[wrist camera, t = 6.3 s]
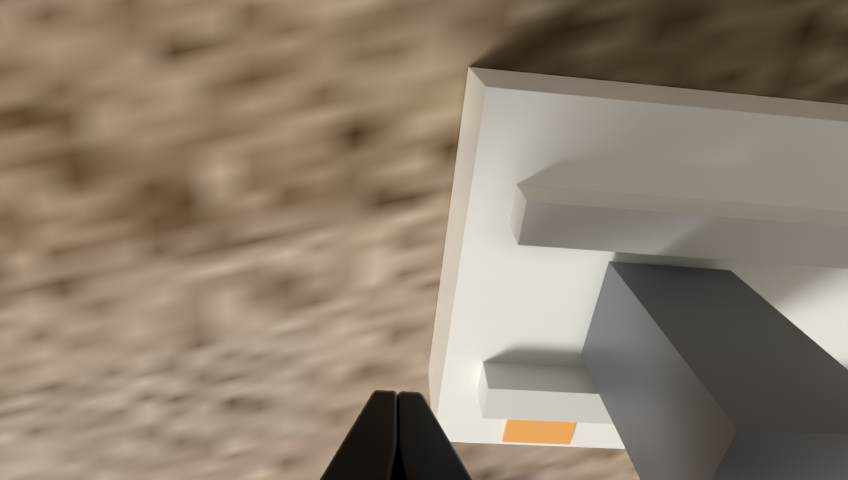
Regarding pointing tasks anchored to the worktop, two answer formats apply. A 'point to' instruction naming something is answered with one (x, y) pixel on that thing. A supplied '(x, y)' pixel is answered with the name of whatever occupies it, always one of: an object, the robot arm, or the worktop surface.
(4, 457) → the worktop surface
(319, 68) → the worktop surface
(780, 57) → the worktop surface
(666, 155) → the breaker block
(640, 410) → the switch knob
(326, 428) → the worktop surface
